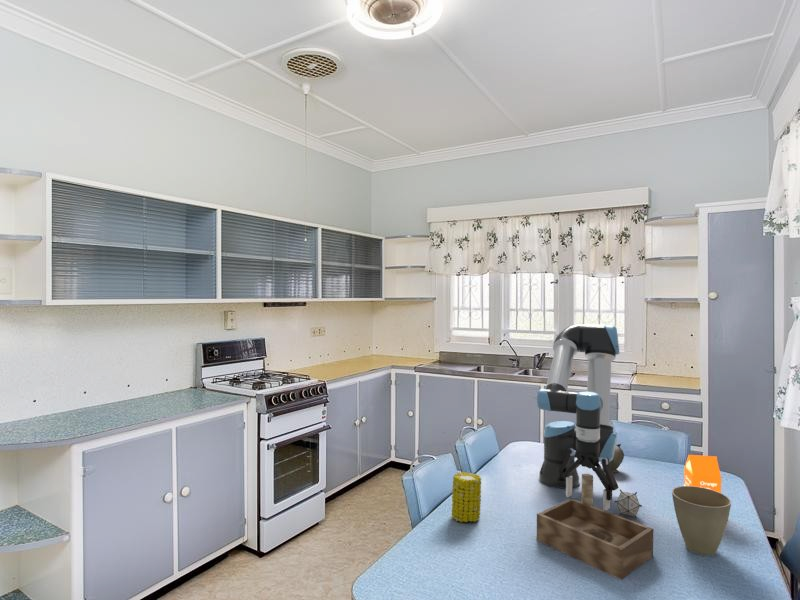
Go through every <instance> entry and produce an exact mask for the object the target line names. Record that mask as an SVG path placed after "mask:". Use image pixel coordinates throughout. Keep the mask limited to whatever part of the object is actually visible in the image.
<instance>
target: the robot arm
mask: <svg viewBox="0 0 800 600" xmlns="http://www.w3.org/2000/svg"><path fill="white" fill-rule="evenodd" d="M619 344H620V343H619V336H618V329H617V327H616V326H614V325H609V324H608V325H607V324H582V323H581V324H580V323H577V324H572V325H570V326H567V327H566V328H564V329H563V330H562V331H560V333H558V335H556V338H555V339H554V342H553V345H552V349H553V352H554V353H553V357H552V362H551V365H550V369H549V372H548V376H547V377H548V378H547V381H546V386H545V388H540V389H538V391H537V394H536V395H537V397H536V405H537V408H538V409H539V410H542V411H543V410H544V411H548V412H559V413H560V412H561V413H568V414H574V415H575V414H576V417H575V418H576V419H575V420H576V423H574V422H573V421H568V420H560V421H559V420H557V421H553V422H552V421H551V422H549V423H547V424H546V425H545V426H544V433H543V462H542V465H541V468H540V470H539V474H538V475H539V476H538V477H539V478H538V479H539V481H540V483H543V484H545V485H546V486H549V487H554V488H561V489H565V497H567V498H568V497H571V496H572V495H573V488H575V487H577V486H579V485H580V475H579V474H578V470H577V469H578V468H579V467H580V466H581V467H584V468H585V467H586V468H587V469H592V471H593V472H594V473H595V474H596V476H597V478H598V480H599V481H600V482H601V484H602V485H603V487H604V489H602V490H603V491H602V493H603V494H602V500H603V501H602V502H603V503H602V510H604V511H608V510H609V509H610V507H611V504H610V502H611V500H612V499H613V491H616V490H618V489H619V485H618V483H617V480H616V477H615V475H614V473H613V472H612V470H611V467H610V465H609V462H610V461H612V460H613V457H614V453H615V448H616V445H617V438H618V432H616V431H615V430H614V426H613V425H612V423H611V422H610V416H611V415H610V411H611V410H610V409H611V408H610V407H611V383H612V382H611V381H612V380H611V378H612V376H611V375H612V362H613V361H614V360H616V356H617V355H620V345H619ZM578 353H584V357H585V358H586V359H587V360H588V363H587V365H588V366H587V383H586V384H587V385H586V387H587V388H586V391H579V392H578V391H577V392H576V391H570V390H569V391H568V386H569V382H570V377H571V372H572V366H573V361H574V357H575V356H576V355H577V354H578ZM575 459H576V460H575ZM601 465H602V466H601ZM602 468H603V470H604V472H603V470H602Z"/></svg>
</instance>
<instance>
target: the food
mask: <svg viewBox="0 0 800 600" xmlns="http://www.w3.org/2000/svg"><path fill="white" fill-rule="evenodd" d="M452 479H453V480H452V490H451V491H452V496H451V498H452V500H451V502H452V503H451V516H452V518H453V519H454V520H455V521H456V522H460V523H463V522H464V523H468V522H475V523H476V521H479V519H480V518H481V517H480V515H481V503H482V498H481V497H482V495H481V494H482V477H481V476H480V475H479V474H477V473H473V472H470V473H469V472H465V471H461V472H460V471H459V472H457V473H455V474H454V475H453V476H452Z"/></svg>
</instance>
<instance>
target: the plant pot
mask: <svg viewBox="0 0 800 600" xmlns="http://www.w3.org/2000/svg"><path fill="white" fill-rule="evenodd" d="M671 494H672V495H671V496H672V503H673V507H674V512H675V516H676V520H677V524H678V526H679V530H680V534H681V536H682V538H683V542H684V543H685V547H686V548H687V550H689V551H690V552H692V553H695V554H696V555H700V556H708V557H709V556H710V557H711V556H714V555H715V554H716V553H717V551H718V549H719V547H720V545H721V542H722V539H723V537H724V534H725V531H726V528H727V524H728V522H729V517H730V511H731V506H732V500H731V499H730V498H729V497H728V496H727V495H726V494H724V493H722V492H721V493H720V492H717V491H714V490H711V489H707V488H702V487H696V486H684V485H681V486H680V485H679V486H676V487H673V488H672V489H671Z"/></svg>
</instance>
